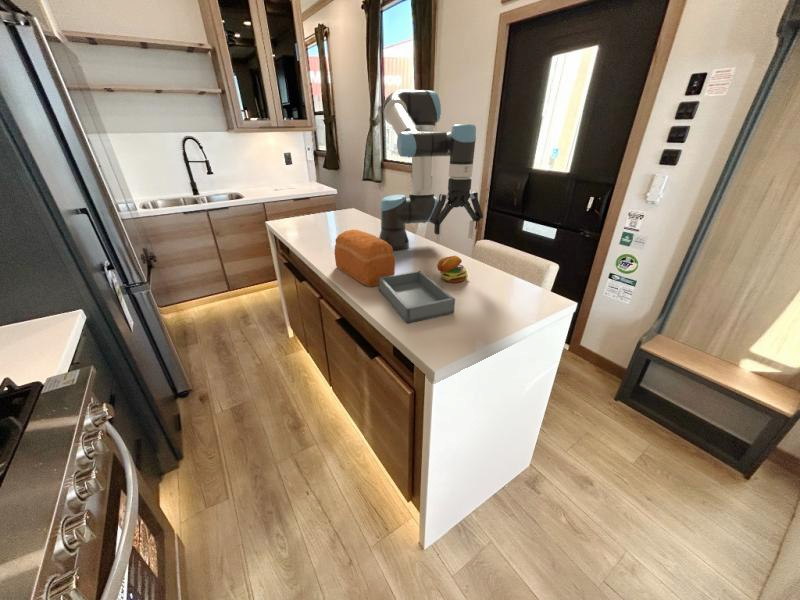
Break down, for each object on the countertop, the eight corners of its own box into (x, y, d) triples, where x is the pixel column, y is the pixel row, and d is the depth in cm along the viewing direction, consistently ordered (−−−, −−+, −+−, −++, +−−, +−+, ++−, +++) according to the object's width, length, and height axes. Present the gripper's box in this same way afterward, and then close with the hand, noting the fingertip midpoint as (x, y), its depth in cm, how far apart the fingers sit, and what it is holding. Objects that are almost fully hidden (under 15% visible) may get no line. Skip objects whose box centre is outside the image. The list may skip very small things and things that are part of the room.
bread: (367, 289, 114) (365, 246, 106) (333, 267, 132) (329, 229, 125) (398, 279, 121) (398, 239, 114) (362, 260, 140) (359, 224, 132)
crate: (379, 290, 113) (378, 277, 111) (419, 282, 118) (420, 270, 116) (406, 323, 93) (406, 309, 91) (453, 313, 99) (455, 298, 97)
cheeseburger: (468, 285, 117) (463, 259, 112) (439, 288, 120) (434, 264, 115) (468, 273, 125) (464, 249, 121) (441, 277, 128) (436, 254, 124)
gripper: (431, 181, 98) (429, 247, 107) (498, 177, 106) (490, 239, 116) (421, 178, 104) (419, 241, 114) (484, 174, 112) (478, 234, 122)
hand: (455, 240), depth 115 cm, fingers open, 13 cm apart
